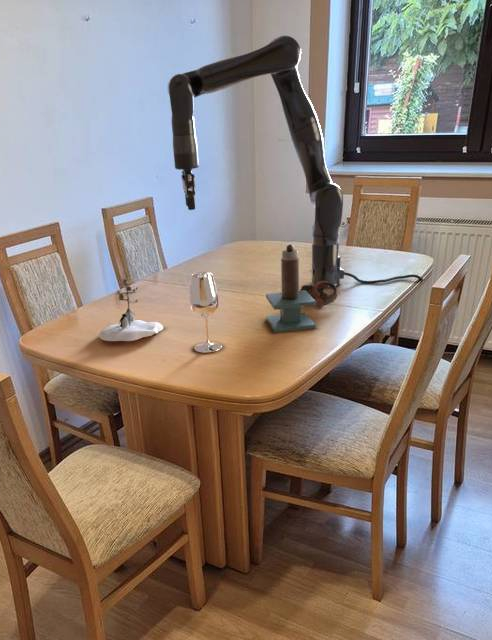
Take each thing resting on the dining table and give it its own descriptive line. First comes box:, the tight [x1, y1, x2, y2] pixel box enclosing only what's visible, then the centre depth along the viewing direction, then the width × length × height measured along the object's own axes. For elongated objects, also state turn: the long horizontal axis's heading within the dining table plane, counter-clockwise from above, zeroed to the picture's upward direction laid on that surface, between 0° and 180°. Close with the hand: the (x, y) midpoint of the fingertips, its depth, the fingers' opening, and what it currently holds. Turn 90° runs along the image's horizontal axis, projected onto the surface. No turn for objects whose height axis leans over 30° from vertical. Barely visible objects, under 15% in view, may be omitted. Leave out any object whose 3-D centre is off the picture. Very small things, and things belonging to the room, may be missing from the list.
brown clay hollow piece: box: [299, 281, 338, 309], centre depth 185 cm, size 12×10×8 cm
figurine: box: [98, 277, 164, 342], centre depth 169 cm, size 20×18×16 cm
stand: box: [265, 290, 317, 334], centre depth 170 cm, size 12×12×8 cm
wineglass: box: [188, 271, 222, 354], centre depth 155 cm, size 8×8×20 cm
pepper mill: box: [280, 244, 300, 300], centre depth 164 cm, size 5×5×15 cm
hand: (190, 207), depth 186 cm, fingers open, 8 cm apart
